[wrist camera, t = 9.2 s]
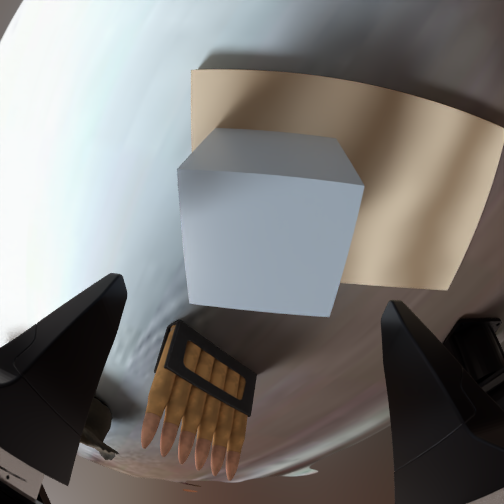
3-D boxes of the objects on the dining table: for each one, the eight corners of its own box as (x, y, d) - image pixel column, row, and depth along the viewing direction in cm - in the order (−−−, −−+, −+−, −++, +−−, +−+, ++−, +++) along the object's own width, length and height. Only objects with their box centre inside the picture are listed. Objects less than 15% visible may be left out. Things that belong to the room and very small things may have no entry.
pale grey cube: (336, 138, 15) (364, 185, 10) (318, 239, 19) (329, 317, 13) (215, 127, 15) (177, 169, 10) (215, 229, 19) (189, 303, 14)
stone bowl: (152, 416, 42) (137, 467, 34) (101, 421, 54) (89, 455, 47) (17, 328, 32) (-12, 380, 25) (9, 360, 45) (-9, 394, 38)
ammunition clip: (167, 325, 27) (126, 443, 17) (179, 318, 26) (139, 442, 17) (244, 379, 31) (229, 482, 22) (257, 374, 30) (245, 482, 21)
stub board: (496, 124, 14) (545, 151, 9) (442, 280, 21) (465, 328, 17) (197, 69, 14) (163, 74, 10) (201, 259, 22) (183, 310, 18)
